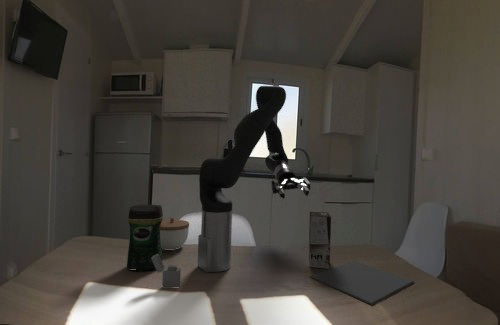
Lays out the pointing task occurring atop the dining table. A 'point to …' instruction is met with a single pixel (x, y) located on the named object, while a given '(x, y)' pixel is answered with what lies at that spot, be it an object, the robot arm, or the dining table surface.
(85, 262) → the dining table surface
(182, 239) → the lidded bowl
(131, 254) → the coffee jar
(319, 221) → the coffee box
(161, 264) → the lighter
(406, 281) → the rubber mat
